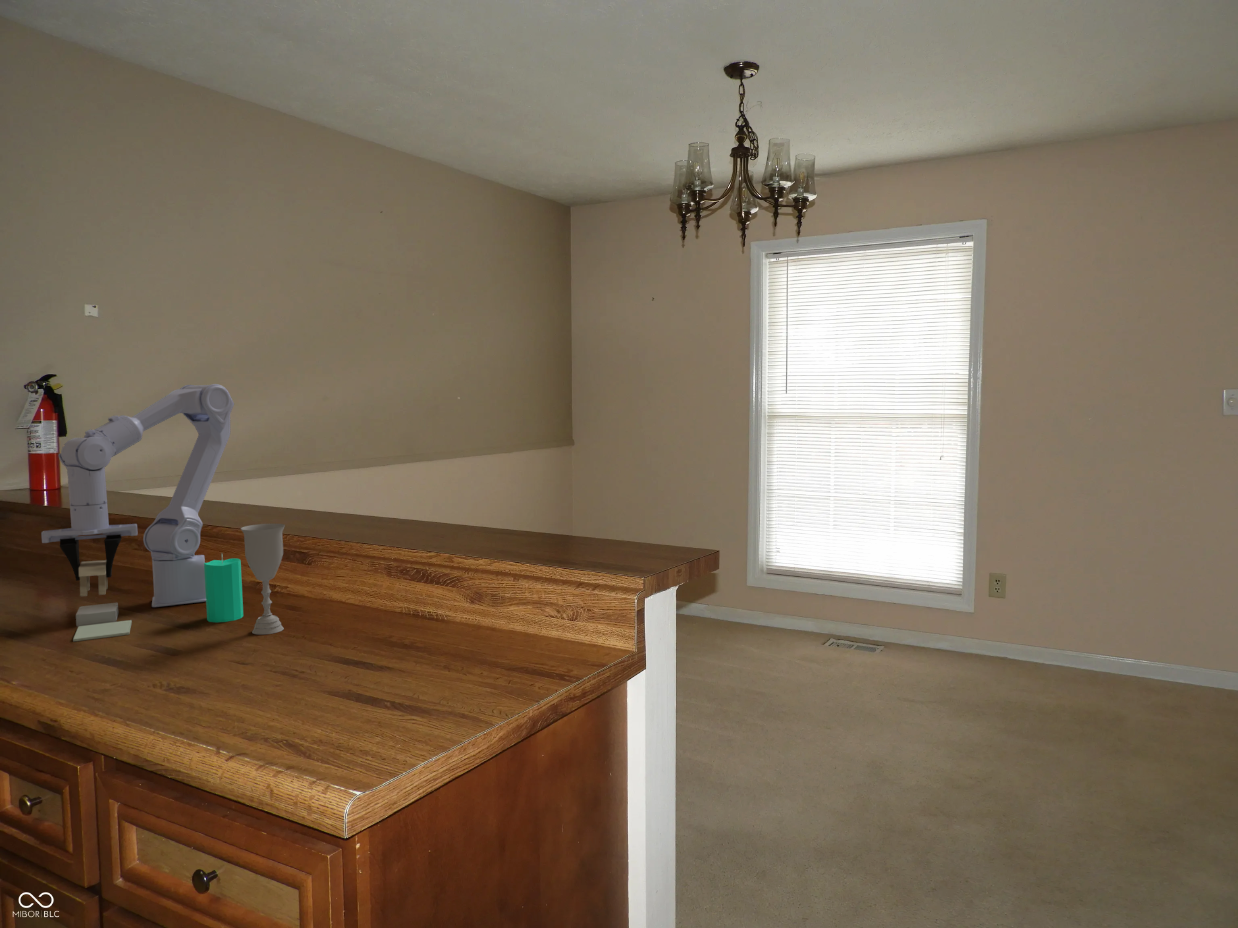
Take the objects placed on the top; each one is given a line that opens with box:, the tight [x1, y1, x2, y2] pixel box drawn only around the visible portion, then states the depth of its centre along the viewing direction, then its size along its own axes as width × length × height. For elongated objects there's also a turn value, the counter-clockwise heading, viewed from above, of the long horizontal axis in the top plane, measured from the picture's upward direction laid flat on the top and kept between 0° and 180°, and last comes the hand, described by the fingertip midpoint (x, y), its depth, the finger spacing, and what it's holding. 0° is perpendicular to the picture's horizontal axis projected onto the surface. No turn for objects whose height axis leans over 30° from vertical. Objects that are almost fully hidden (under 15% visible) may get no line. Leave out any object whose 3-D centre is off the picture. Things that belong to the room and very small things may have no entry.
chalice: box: [240, 523, 286, 635], centre depth 142 cm, size 7×7×18 cm
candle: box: [204, 553, 244, 623], centre depth 150 cm, size 6×6×12 cm
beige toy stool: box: [79, 559, 109, 597], centre depth 150 cm, size 6×4×5 cm, turn 28°
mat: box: [72, 619, 133, 642], centre depth 143 cm, size 8×9×1 cm
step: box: [75, 602, 119, 627], centre depth 151 cm, size 6×7×2 cm
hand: (94, 578), depth 150 cm, fingers closed on beige toy stool, 4 cm apart
